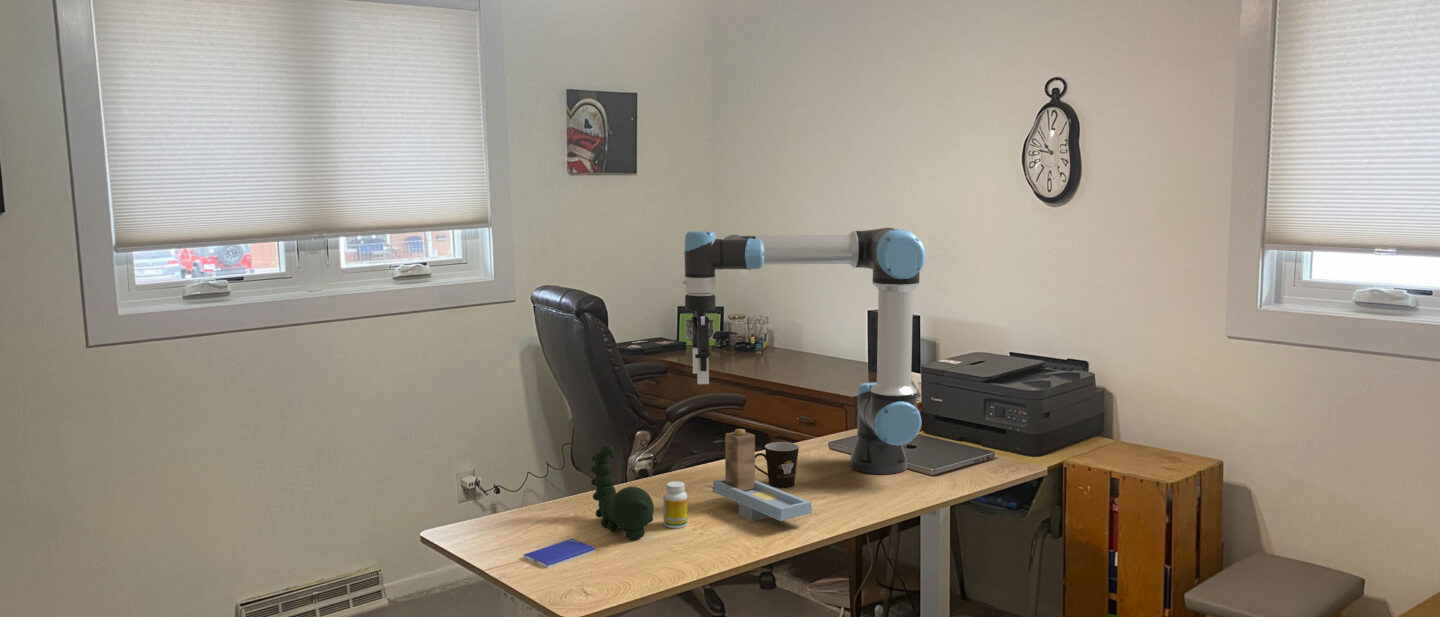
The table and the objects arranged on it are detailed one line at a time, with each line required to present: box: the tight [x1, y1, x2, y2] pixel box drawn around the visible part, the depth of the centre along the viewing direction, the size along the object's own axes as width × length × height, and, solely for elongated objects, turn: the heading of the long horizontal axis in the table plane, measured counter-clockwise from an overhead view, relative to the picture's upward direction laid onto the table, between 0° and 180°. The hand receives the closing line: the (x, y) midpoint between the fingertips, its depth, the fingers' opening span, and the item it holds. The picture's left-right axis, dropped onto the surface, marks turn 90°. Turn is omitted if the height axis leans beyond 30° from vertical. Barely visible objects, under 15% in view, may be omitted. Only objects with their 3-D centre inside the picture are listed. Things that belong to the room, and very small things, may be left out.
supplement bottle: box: [663, 481, 688, 530], centre depth 232 cm, size 5×5×10 cm
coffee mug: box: [755, 441, 800, 489], centre depth 262 cm, size 12×9×10 cm
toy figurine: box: [590, 444, 655, 541], centre depth 228 cm, size 9×19×25 cm
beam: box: [712, 478, 813, 522], centre depth 239 cm, size 26×9×6 cm, turn 35°
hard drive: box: [523, 538, 596, 569], centre depth 215 cm, size 2×8×12 cm
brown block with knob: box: [724, 428, 756, 491], centre depth 245 cm, size 5×5×14 cm
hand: (700, 378), depth 257 cm, fingers open, 13 cm apart
